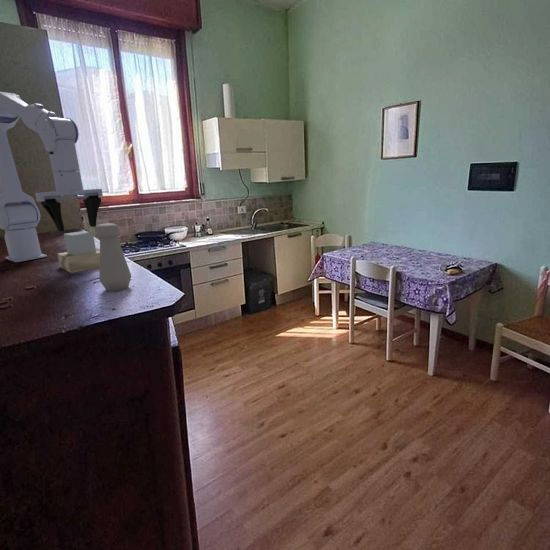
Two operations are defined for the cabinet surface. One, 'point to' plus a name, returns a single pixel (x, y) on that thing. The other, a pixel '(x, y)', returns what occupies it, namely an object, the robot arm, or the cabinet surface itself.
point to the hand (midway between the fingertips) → (77, 228)
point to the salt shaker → (112, 259)
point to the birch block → (79, 261)
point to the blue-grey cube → (80, 243)
